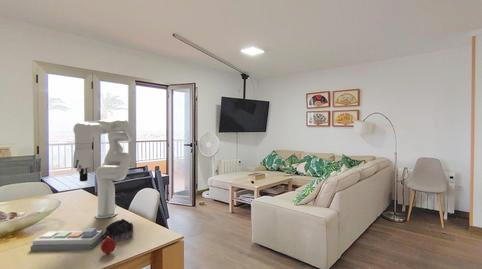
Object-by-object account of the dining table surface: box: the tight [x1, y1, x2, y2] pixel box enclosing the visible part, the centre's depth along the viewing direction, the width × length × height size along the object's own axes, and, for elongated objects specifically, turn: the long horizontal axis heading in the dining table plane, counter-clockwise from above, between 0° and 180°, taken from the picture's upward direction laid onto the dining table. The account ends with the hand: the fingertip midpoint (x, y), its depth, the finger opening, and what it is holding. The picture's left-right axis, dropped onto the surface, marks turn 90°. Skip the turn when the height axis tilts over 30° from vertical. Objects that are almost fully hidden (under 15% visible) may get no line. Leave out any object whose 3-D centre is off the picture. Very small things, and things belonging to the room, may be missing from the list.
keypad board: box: [30, 229, 105, 252], centre depth 120 cm, size 13×26×4 cm, turn 93°
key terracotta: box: [69, 232, 83, 238], centre depth 120 cm, size 4×4×2 cm
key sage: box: [55, 232, 70, 238], centre depth 120 cm, size 4×4×2 cm
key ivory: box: [40, 232, 57, 239], centre depth 120 cm, size 4×4×2 cm
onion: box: [100, 236, 117, 255], centre depth 110 cm, size 6×6×8 cm
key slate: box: [82, 227, 98, 237], centre depth 121 cm, size 4×4×2 cm
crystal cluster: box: [103, 218, 134, 242], centre depth 128 cm, size 13×14×10 cm
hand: (83, 180), depth 133 cm, fingers closed
